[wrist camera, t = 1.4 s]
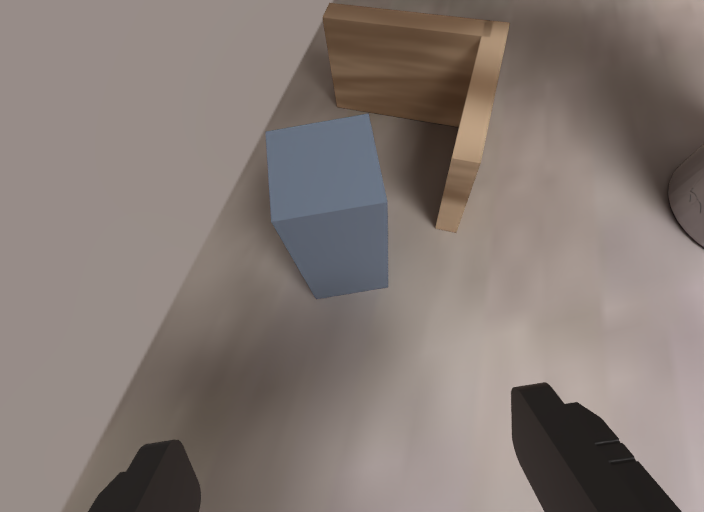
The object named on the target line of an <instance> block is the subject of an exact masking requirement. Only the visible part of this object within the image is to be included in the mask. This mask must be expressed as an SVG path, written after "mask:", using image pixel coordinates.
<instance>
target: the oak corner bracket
mask: <svg viewBox="0 0 704 512" xmlns="http://www.w3.org/2000/svg"><path fill="white" fill-rule="evenodd" d="M323 23H324V29H325V36H326V42H327V48H328V54H329V60H330V66H331V72H332V78H333V84H334V90H335V96H336V103H337V107H340V108H346V109H352V110H358V111H364V112H371V113H377V114H383V115H389V116H395V117H401V118H407V119H413V120H419V121H425V122H431V123H437V124H443V125H449V126H455V127H459V130H458V135H457V139H456V143H455V147H454V151H453V155H452V159H451V163H450V168H449V172H448V176H447V180H446V185H445V189H444V193H443V197H442V202H441V206H440V210H439V215H438V219H437V223H436V227H435V228H436V229H441V230H445V231H450V232H454V233H456V232H457V229H458V226H459V224H460V221H461V218H462V215H463V212H464V209H465V206H466V203H467V201H468V198H469V195H470V192H471V189H472V186H473V183H474V181H475V178H476V175H477V172H478V169H479V166H480V163H481V159H482V154H483V149H484V144H485V139H486V135H487V130H488V125H489V120H490V116H491V111H492V106H493V101H494V97H495V92H496V87H497V82H498V78H499V73H500V68H501V63H502V58H503V54H504V49H505V44H506V39H507V35H508V30H509V25H510V23H507V22H498V21H489V20H480V19H471V18H462V17H453V16H444V15H434V14H425V13H416V12H407V11H398V10H389V9H380V8H371V7H362V6H353V5H344V4H335V3H329V5H328V7H327V9H326V11H325V13H324V15H323Z"/></svg>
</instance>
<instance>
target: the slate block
mask: <svg viewBox="0 0 704 512" xmlns="http://www.w3.org/2000/svg"><path fill="white" fill-rule="evenodd" d="M266 147H267V163H268V178H269V194H270V209H271V222H272V224H273V226H274V228H275V229H276V231H277V233H278V234H279V236H280V238H281V240H282V241H283V243H284V245H285V246H286V248H287V250H288V252H289V253H290V255H291V257H292V258H293V260H294V262H295V264H296V265H297V267H298V269H299V270H300V272H301V274H302V276H303V277H304V279H305V281H306V283H307V284H308V286H309V288H310V289H311V291H312V293H313V295H314V296H315V298H316V299H320V298H326V297H332V296H338V295H344V294H350V293H357V292H363V291H369V290H375V289H381V288H387V287H388V213H387V198H386V193H385V189H384V184H383V179H382V174H381V170H380V165H379V160H378V156H377V151H376V146H375V141H374V137H373V132H372V127H371V123H370V118H369V114H363V115H357V116H352V117H346V118H340V119H335V120H329V121H323V122H318V123H312V124H306V125H301V126H295V127H289V128H284V129H278V130H272V131H267V132H266Z"/></svg>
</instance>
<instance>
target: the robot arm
mask: <svg viewBox="0 0 704 512" xmlns="http://www.w3.org/2000/svg"><path fill="white" fill-rule="evenodd" d="M668 197H669V201H670V205H671V209H672V211H673V213H674V215H675V217H676V219H677V221H678V222H679V223H680V225H681V226H682V227H683V228H684V230H685V231H686V232H687V233H688V234H689V235H690V236H691V237H692V238H693V239H694V240H695V241H696V242H698V243H699V244H700V245H702V246H703V247H704V144H703V145H702V146H701V147H700V148H699V149H698V150H696V151H695V152H694V153H693V154H692V155H691V156H690V157H689V158H688V159H686V160H685V161H684V162H683V163H682V164H681V165H680V166H679V167H678V168H677V169H676V171H675V172H674V173H673V175H672V177H671V180H670V183H669V193H668ZM511 412H512V440H513V445H514V449H515V452H516V455H517V458H518V461H519V463H520V465H521V467H522V469H523V471H524V473H525V475H526V477H527V479H528V481H529V483H530V485H531V487H532V488H533V490H534V492H535V494H536V496H537V498H538V500H539V502H540V504H541V506H542V508H543V510H544V512H681V510H680V509H679V508H678V507H677V506H676V505H675V503H674V502H673V501H672V500H671V499H670V498H669V496H668V495H667V494H666V493H665V492H664V491H663V489H662V488H661V487H660V486H659V485H658V484H657V482H656V481H655V480H654V479H653V478H652V477H651V476H650V474H649V473H648V472H647V471H646V470H645V469H644V467H643V466H642V465H641V464H640V463H639V462H638V461H636V460H635V458H634V456H633V455H632V453H631V452H630V451H629V450H628V449H627V448H626V446H625V445H624V444H623V443H620V441H619V438H618V437H617V436H616V435H615V434H614V432H613V431H612V430H611V429H610V428H609V427H608V425H607V424H606V423H605V422H604V421H603V420H602V418H600V417H599V416H597V415H596V414H594V413H593V412H591V411H590V410H588V409H587V408H585V407H584V406H582V405H581V404H579V403H578V402H575V403H568V404H564V403H563V401H562V400H561V399H560V398H559V396H558V395H557V394H556V392H555V391H554V390H553V389H552V387H551V386H550V385H549V384H547V383H545V382H544V383H538V384H531V385H525V386H519V387H513V388H512V391H511ZM200 501H201V491H200V485H199V482H198V480H197V477H196V475H195V473H194V470H193V468H192V466H191V463H190V461H189V459H188V456H187V454H186V452H185V449H184V447H183V445H182V443H181V442H180V441H179V440H170V441H164V442H158V443H151V444H146V445H144V446H142V447H141V448H140V449H139V451H138V452H137V454H136V456H135V458H134V459H133V461H132V463H131V464H130V466H129V468H128V470H127V471H126V472H120V473H119V474H118V475H117V476H116V477H115V478H114V479H113V480H112V481H111V482H110V483H109V485H108V486H107V487H106V488H105V489H104V490H103V491H102V492H101V493H100V494H99V495H98V497H97V498H96V500H95V501H94V503H93V505H92V506H91V508H90V509H89V511H88V512H199V508H200Z"/></svg>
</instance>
